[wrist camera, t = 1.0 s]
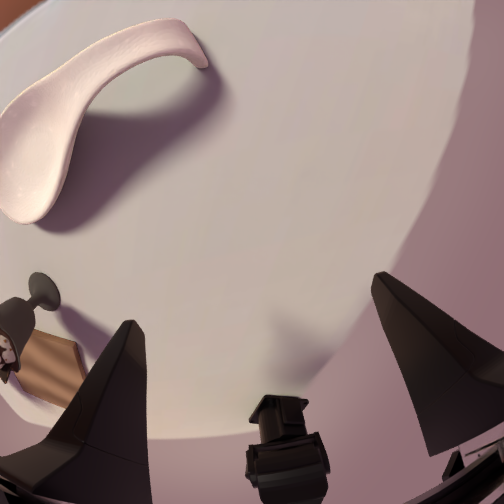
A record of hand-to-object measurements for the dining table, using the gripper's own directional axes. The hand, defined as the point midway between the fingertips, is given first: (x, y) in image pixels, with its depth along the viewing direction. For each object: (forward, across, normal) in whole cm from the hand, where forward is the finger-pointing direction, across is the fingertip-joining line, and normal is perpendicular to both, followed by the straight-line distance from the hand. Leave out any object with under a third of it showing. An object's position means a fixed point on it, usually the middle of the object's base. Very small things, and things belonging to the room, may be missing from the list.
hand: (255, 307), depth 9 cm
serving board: (+9, +33, +19) cm, 39 cm away
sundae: (+13, +24, +8) cm, 28 cm away
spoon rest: (+18, +12, -7) cm, 23 cm away
